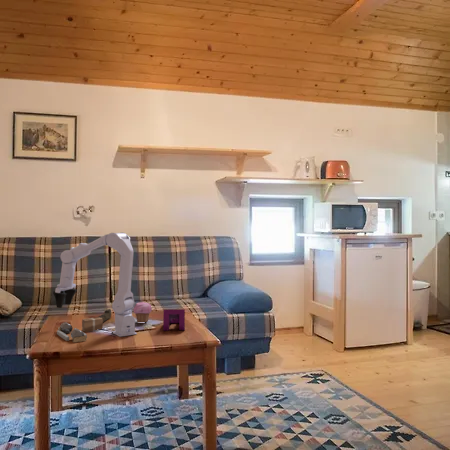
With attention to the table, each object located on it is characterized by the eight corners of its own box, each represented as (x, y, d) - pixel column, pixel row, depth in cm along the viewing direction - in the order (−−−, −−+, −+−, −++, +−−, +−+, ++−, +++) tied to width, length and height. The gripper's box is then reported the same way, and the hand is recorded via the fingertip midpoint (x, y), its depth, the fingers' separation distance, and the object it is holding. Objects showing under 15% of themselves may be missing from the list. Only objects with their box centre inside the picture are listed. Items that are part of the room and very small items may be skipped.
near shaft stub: (86, 340, 186) (86, 331, 186) (73, 342, 183) (73, 332, 183) (81, 337, 191) (81, 328, 191) (69, 339, 188) (69, 329, 188)
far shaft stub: (73, 332, 200) (73, 323, 200) (62, 334, 197) (62, 325, 197) (69, 330, 205) (69, 321, 205) (58, 331, 202) (58, 322, 202)
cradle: (86, 338, 191) (86, 334, 191) (66, 341, 186) (66, 337, 186) (76, 331, 202) (76, 328, 202) (57, 334, 197) (57, 330, 197)
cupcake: (133, 321, 224) (133, 300, 224) (151, 320, 226) (151, 300, 226) (133, 325, 215) (133, 303, 215) (152, 324, 217) (152, 303, 217)
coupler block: (102, 329, 206) (102, 318, 206) (85, 332, 201) (85, 320, 201) (99, 328, 209) (99, 316, 209) (82, 330, 205) (82, 319, 205)
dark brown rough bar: (101, 325, 215) (102, 315, 215) (93, 325, 215) (93, 315, 215) (115, 317, 234) (115, 308, 234) (108, 317, 234) (108, 308, 234)
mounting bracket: (164, 337, 216) (163, 328, 200) (165, 319, 220) (163, 309, 204) (184, 336, 217) (184, 328, 201) (184, 319, 221) (184, 309, 205)
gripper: (67, 273, 214) (63, 301, 215) (50, 277, 200) (46, 307, 200) (81, 275, 213) (77, 304, 214) (65, 279, 199) (61, 310, 199)
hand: (63, 305), depth 207 cm, fingers open, 7 cm apart
